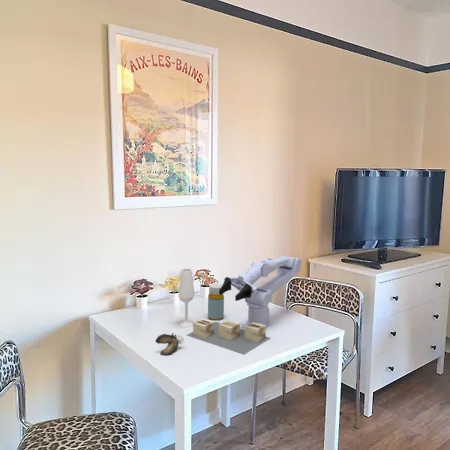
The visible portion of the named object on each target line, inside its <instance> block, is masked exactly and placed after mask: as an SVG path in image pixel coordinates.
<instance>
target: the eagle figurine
mask: <svg viewBox="0 0 450 450" xmlns="http://www.w3.org/2000/svg"><path fill="white" fill-rule="evenodd" d="M184 341H185V340H184V337H183V336H182V335H180V334H179V335H178V336H177V334H174V333H173V332H172V333H171V334H166V333H163V334H160V335H158V336H157V337H156V339H155V343H156V344H159V345H160V344H164V345H165V346H166V347H165V348H164V349H163V350H161V351H160V352H159V353H160V355H161V356H169V355H171V354H172V353H173V352H175V351H176V350H177V349H178V347H179V345H182V344H183V342H184ZM166 344H167V345H166Z"/></svg>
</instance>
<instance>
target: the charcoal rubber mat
mask: <svg viewBox="0 0 450 450" xmlns="http://www.w3.org/2000/svg"><path fill="white" fill-rule="evenodd" d="M213 322H214V334H213V335H211V336H209V337H207V338H205V339H204V338H201V337H198V336H195V335H193V331H192V332H189V333H187V334H186V337H190V338H192V339H197V340H199V341H202V342H205V343H208V344H211V345H214V346H217V347H219V348H223V349H226V350H229V351H231V352H235V353H238V354H241V355H246V354H248V353H250V352H251V351H253V350H254V349H256V348H257V347H259V346H261V345H262V344H264V343H266V342H267V341H269V340H270V339H272V338H271V337H269V336H266V338H264V339H262V340H261V341H259V342H254V341H251V340H248V339H244V337H245V329H241V328H240V336H238V337H236V338H235V339H233V340H227V339H224V338H221V337H219V324H221V323H222V322H217V321H213Z"/></svg>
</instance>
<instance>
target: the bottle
mask: <svg viewBox="0 0 450 450" xmlns="http://www.w3.org/2000/svg"><path fill="white" fill-rule="evenodd" d="M222 285H223V284H219V283H213V284H209V286H208V295H207V318H208V320H209V321H222V320H223V319H224V318H225V316H224V312H225V311H224V310H225V309H224V308H225V296H224V293H223V294H221V295H220V294H219V290H220V288H221V287H222Z"/></svg>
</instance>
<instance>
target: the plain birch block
mask: <svg viewBox="0 0 450 450" xmlns="http://www.w3.org/2000/svg"><path fill="white" fill-rule="evenodd" d="M220 323H221V324H219V337H221V338H224V339H227V340H233V339H235V338H236V337H238V336H240V329H241V324H240V323H239V322H236V321H235V322H234V321H232V320H228V319H227V320H226V321H223V322H220Z"/></svg>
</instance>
